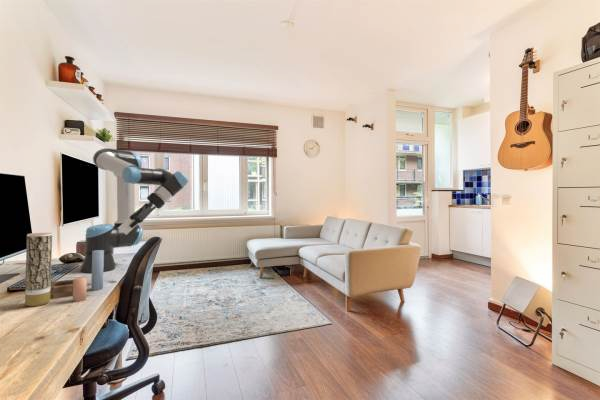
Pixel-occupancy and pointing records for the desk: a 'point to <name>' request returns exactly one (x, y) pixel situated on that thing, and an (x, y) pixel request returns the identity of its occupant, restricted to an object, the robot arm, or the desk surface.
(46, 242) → the bark-patterned canister
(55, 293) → the walnut socket block
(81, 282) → the terracotta pin
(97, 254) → the slate-blue pin
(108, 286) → the desk surface
